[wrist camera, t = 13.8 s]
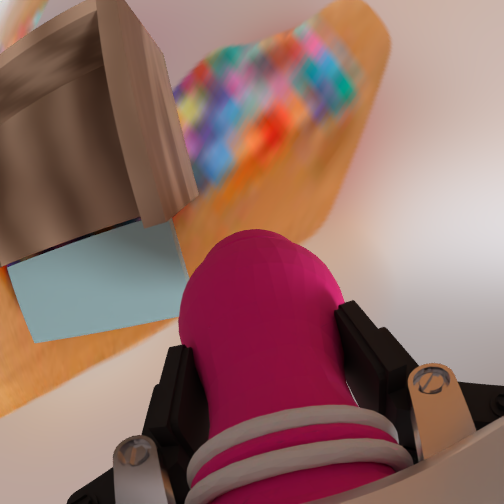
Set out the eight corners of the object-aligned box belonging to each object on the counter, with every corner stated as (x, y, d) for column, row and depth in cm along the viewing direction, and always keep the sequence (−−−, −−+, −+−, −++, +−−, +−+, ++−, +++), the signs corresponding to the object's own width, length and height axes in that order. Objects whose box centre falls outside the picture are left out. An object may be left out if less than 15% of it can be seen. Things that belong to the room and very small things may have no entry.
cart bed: (21, 254, 27) (-55, 299, 15) (-7, 140, 23) (-89, 145, 11) (198, 194, 27) (166, 222, 14) (163, 53, 23) (114, -13, 10)
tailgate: (18, 263, 24) (44, 335, 26) (7, 267, 23) (34, 343, 24) (172, 211, 24) (199, 304, 25) (166, 212, 22) (196, 312, 24)
